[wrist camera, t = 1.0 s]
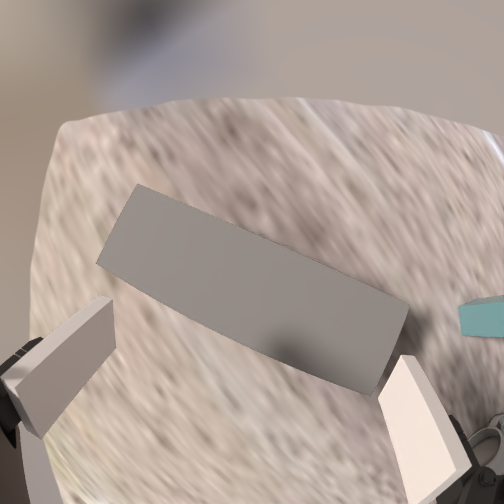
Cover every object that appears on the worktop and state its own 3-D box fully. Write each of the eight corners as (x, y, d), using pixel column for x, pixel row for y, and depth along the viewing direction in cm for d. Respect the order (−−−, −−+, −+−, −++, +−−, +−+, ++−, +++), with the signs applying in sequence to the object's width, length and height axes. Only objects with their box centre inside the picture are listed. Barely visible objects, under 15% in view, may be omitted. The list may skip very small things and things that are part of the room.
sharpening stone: (144, 278, 33) (96, 263, 22) (173, 220, 34) (137, 183, 23) (338, 371, 29) (371, 396, 19) (366, 308, 31) (410, 304, 20)
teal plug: (480, 326, 29) (552, 324, 15) (461, 335, 29) (536, 337, 15) (477, 298, 30) (549, 287, 16) (458, 306, 30) (533, 297, 16)
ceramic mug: (469, 476, 23) (494, 492, 16) (449, 461, 25) (477, 479, 17) (507, 423, 25) (535, 432, 17) (491, 404, 26) (523, 413, 19)
